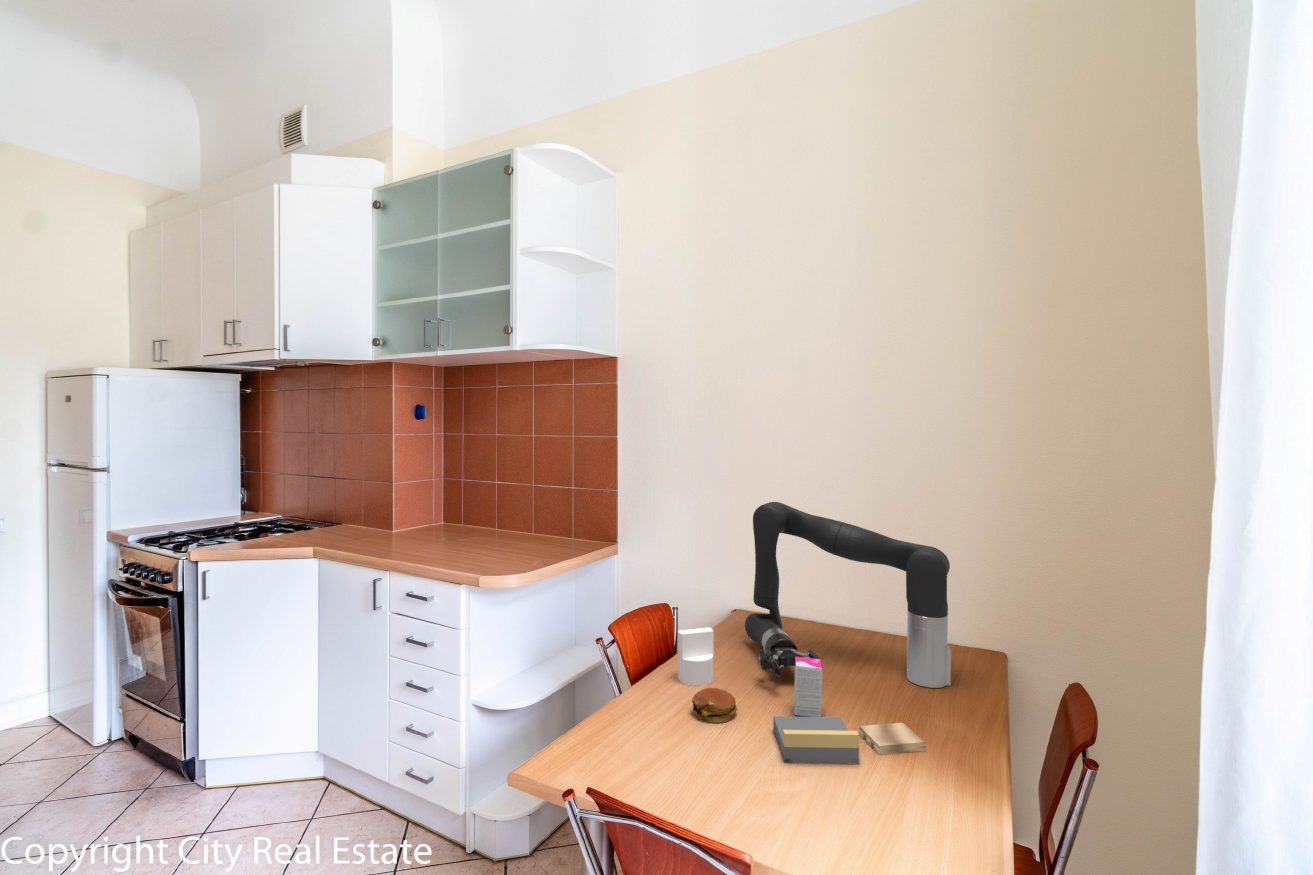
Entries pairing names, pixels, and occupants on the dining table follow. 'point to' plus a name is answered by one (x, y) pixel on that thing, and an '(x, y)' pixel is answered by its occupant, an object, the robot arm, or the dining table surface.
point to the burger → (714, 705)
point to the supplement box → (808, 687)
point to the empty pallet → (891, 738)
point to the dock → (816, 740)
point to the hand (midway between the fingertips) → (797, 671)
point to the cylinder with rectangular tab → (695, 656)
